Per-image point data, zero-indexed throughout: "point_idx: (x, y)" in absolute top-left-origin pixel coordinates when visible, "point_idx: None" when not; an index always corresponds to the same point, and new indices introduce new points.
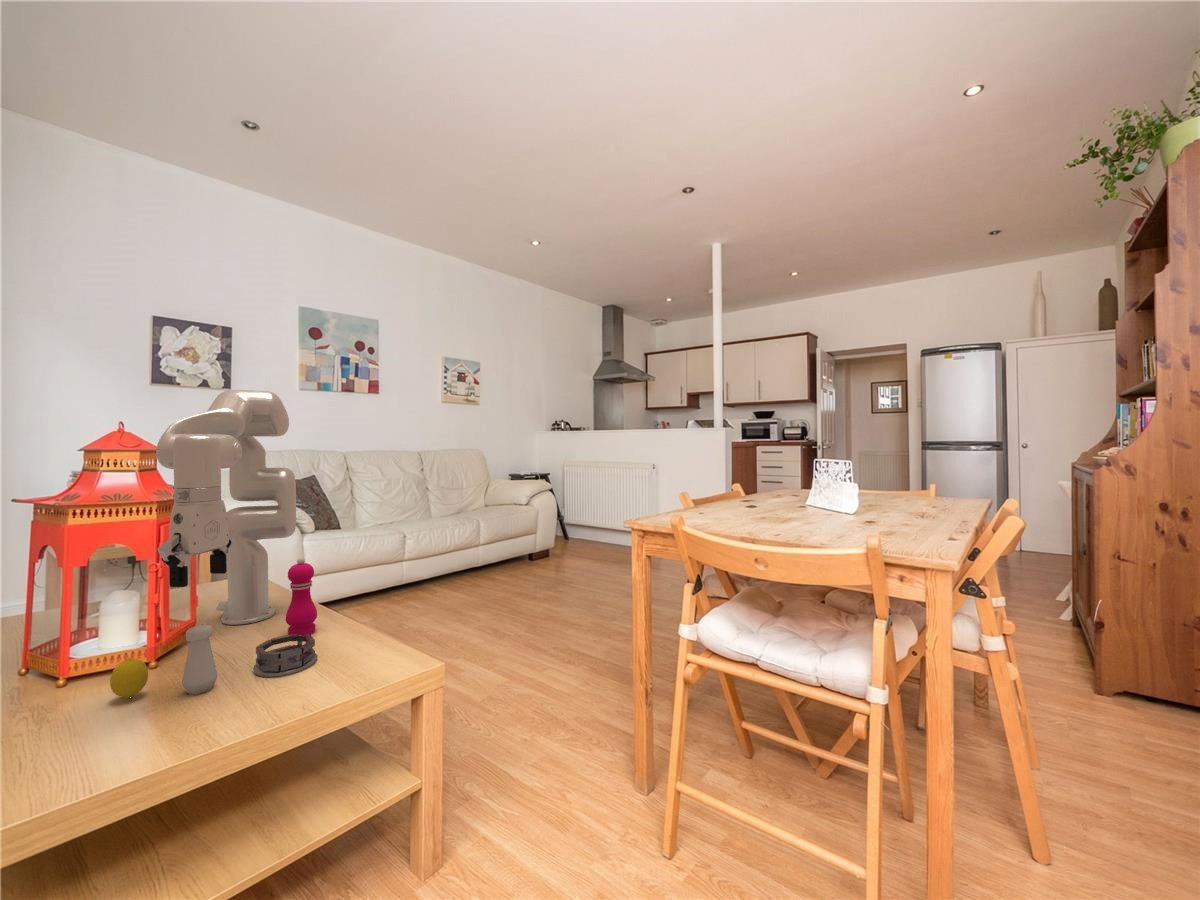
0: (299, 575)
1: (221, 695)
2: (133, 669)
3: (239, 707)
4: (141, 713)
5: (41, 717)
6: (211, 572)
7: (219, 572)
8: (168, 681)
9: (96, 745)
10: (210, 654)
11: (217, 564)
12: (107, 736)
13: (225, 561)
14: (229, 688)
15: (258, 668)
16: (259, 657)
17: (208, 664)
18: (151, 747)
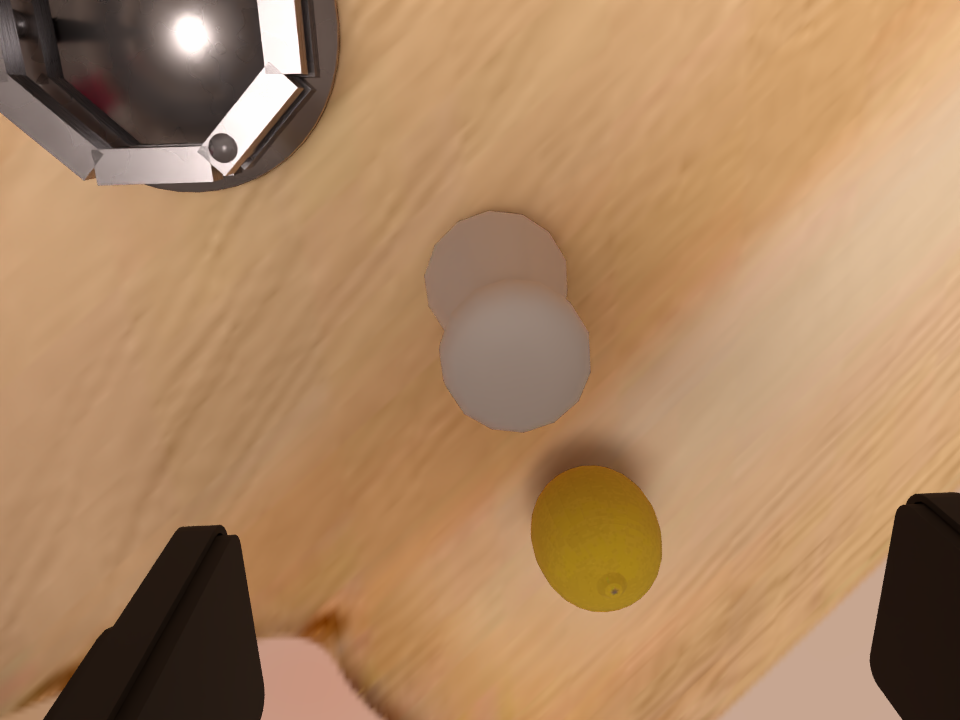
0: None
1: (536, 122)
2: (631, 523)
3: None
4: (692, 340)
5: (714, 640)
6: (260, 691)
7: (243, 588)
8: (435, 467)
9: (908, 296)
10: (490, 258)
11: (206, 713)
12: (851, 314)
13: (120, 651)
14: (468, 139)
15: (302, 106)
16: (300, 86)
17: (513, 239)
18: (947, 67)
